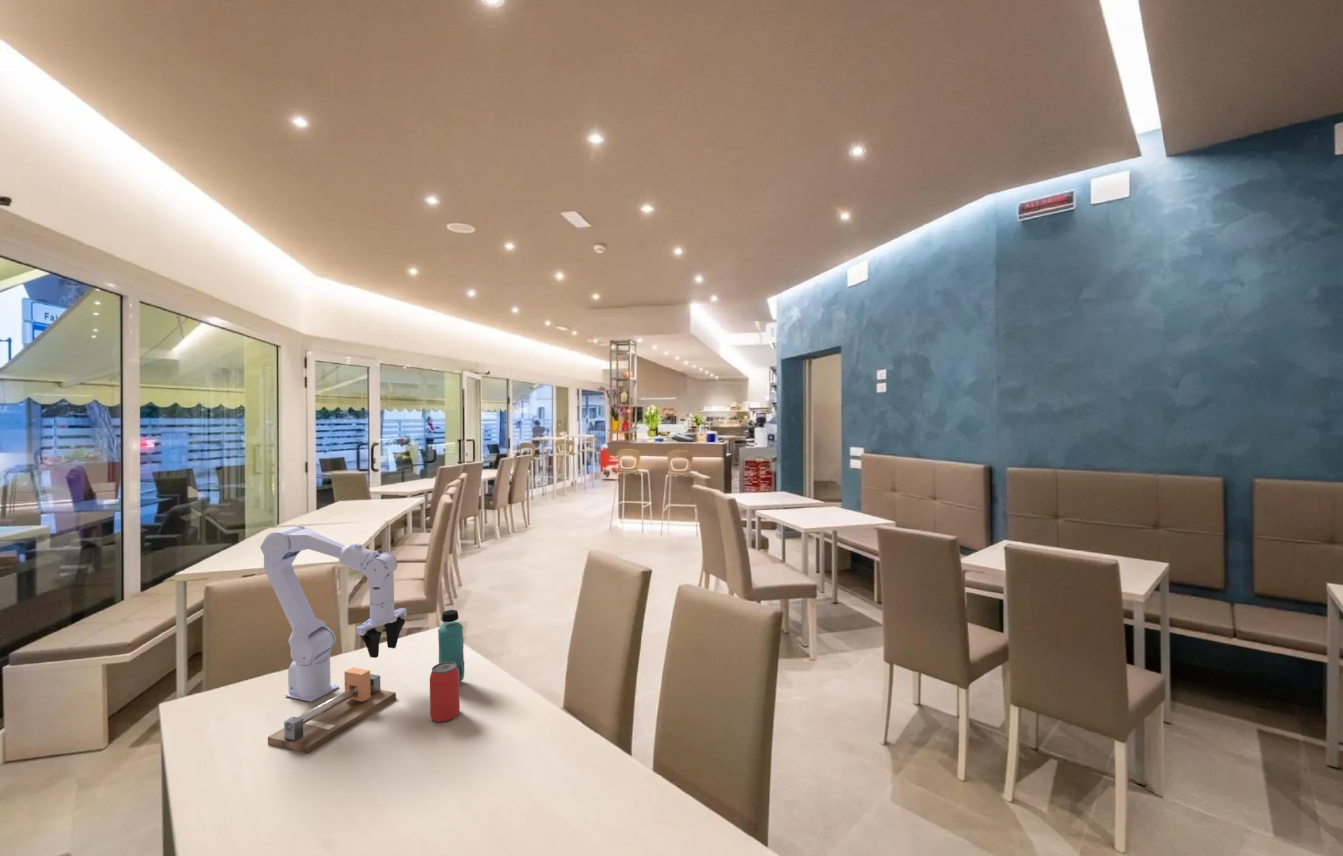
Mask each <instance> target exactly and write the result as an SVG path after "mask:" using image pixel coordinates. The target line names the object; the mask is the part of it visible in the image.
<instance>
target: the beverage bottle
mask: <svg viewBox="0 0 1343 856" xmlns="http://www.w3.org/2000/svg"><path fill="white" fill-rule="evenodd" d="M458 620H459V611H458V610H456V609H449V610H445V611H443V612H442V615H441V621H442V622H443V624H441V626H440V627H439V628H438V629H437V632H438V633H437V634H438V635H437V639H438V662H437V664H439V663H443V662H454V663H456V664H457V668H458V671H459V683H460V682H462V681H463V680H464V677H465V676H466V675H465V669H466V668H465V659H464V658H465V656H464V644H465V643H464V642H465V641H464V634H463V633H464V631H463V630H464V625H463V624H461V622H459V621H458Z"/></svg>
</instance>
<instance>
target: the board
mask: <svg viewBox="0 0 1343 856" xmlns="http://www.w3.org/2000/svg"><path fill="white" fill-rule="evenodd" d="M370 695H371V697H369V698H368V699H366V700H364V701H363V702H362V701H357V700H352V699H347V700H345V701H343V702H342V703H340V704H338V705H336V706H335V707H333V708H331V709H329V710H328V711H326V712H324V713H322V714H321V715H319V716H317V717H315V718H314V719H312V720H310V721H308V722H306V723H305V724H303V737H302V738H300V739H298V740H297V741H295V742H294V741H290V740H286V739H285V733H284V727H283V728H281V729H279V730H278V731H275V732H274V733H272V734H270V735H269V736H267V744H268V745H272V746H277V747H280V748H284V749H288V750H293V751H297V752H300V753H305V754H310V753H311V752H313V751H314V750H316V749H317V748H320V747H321V746H322V745H324V744H325V743H328V742H329V741H330V740H332V739H334V738H335V737H337V736H339V735H340V734H341V733H343V732H345V731H346V730H348V729H350V728H351V727H353V726H354V725H356V724H357V723H359V722H360V721H361V722H362V720H364V719H365V718H367V717H368V716H370V715H372V714H374V713H375V712H376V711H378V710H380V709H381V708H383V707H384V706H386V705H387V704H390V703H391V702H393V701H394V700H396V699H397V693H396V692H394V691H389V690H384V689H381V691H380V692H378V693H376V694H375V695H373V694H370Z"/></svg>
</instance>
